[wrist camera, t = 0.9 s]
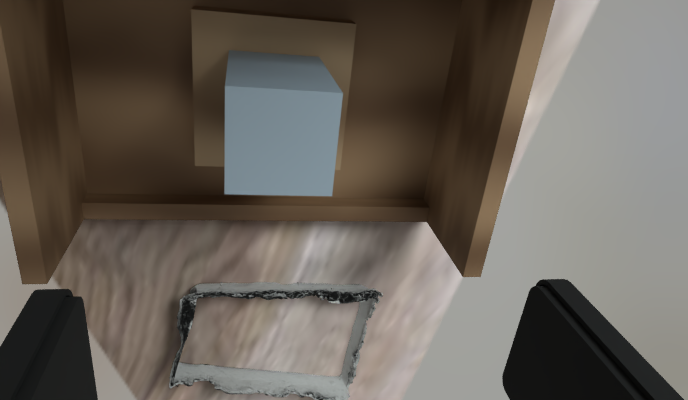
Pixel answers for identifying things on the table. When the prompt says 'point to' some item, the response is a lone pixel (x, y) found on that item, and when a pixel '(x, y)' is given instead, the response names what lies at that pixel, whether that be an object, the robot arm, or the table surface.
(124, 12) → the crate
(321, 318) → the table surface
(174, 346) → the table surface
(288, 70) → the block
